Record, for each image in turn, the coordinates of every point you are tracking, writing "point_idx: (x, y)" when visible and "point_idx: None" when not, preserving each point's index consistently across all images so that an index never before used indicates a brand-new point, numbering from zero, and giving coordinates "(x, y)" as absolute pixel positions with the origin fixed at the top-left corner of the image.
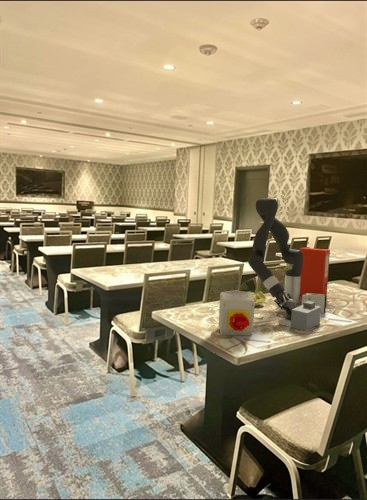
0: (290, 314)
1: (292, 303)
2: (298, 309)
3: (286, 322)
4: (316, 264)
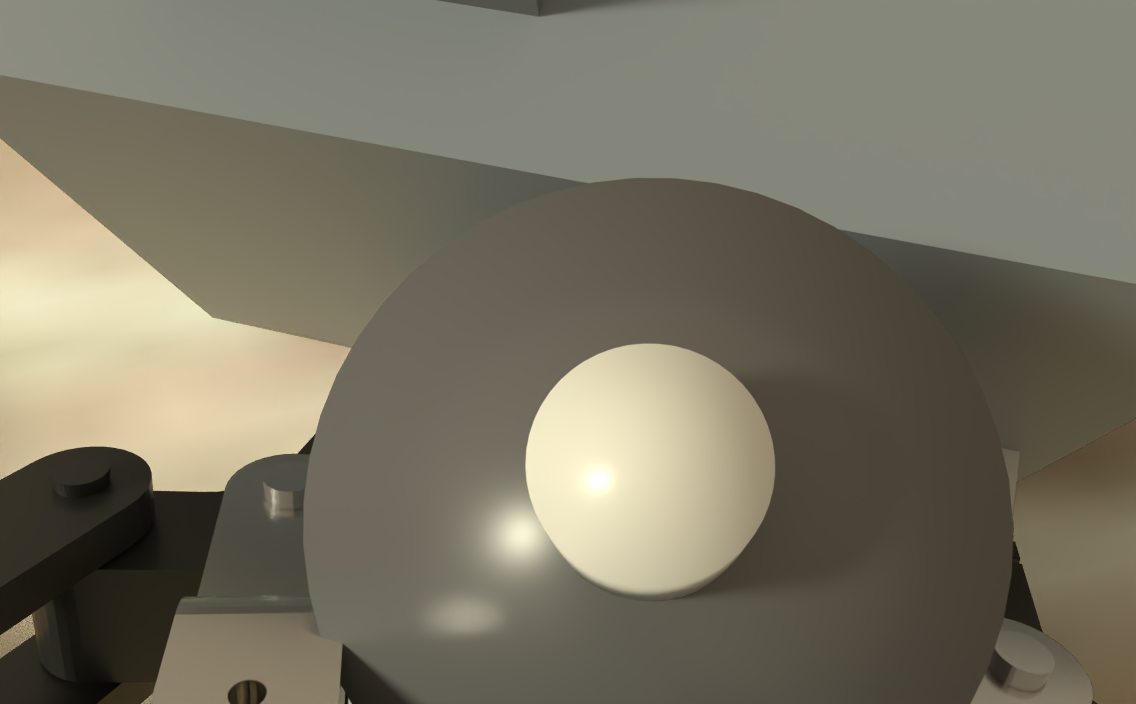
0: None
1: (932, 334)
2: (1064, 82)
3: None
4: None
